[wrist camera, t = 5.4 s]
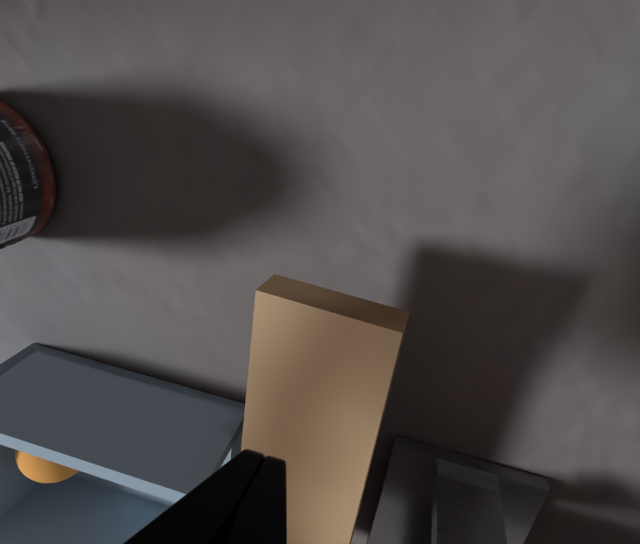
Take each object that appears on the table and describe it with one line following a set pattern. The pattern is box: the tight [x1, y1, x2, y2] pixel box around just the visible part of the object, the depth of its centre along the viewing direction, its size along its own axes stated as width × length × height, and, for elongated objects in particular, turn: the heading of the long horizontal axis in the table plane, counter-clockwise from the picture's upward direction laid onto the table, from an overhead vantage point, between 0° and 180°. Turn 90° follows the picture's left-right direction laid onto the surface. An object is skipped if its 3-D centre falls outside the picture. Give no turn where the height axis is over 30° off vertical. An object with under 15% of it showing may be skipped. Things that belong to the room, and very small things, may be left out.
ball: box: [15, 449, 79, 483], centre depth 21 cm, size 3×3×3 cm
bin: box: [0, 343, 245, 544], centre depth 20 cm, size 11×8×5 cm
